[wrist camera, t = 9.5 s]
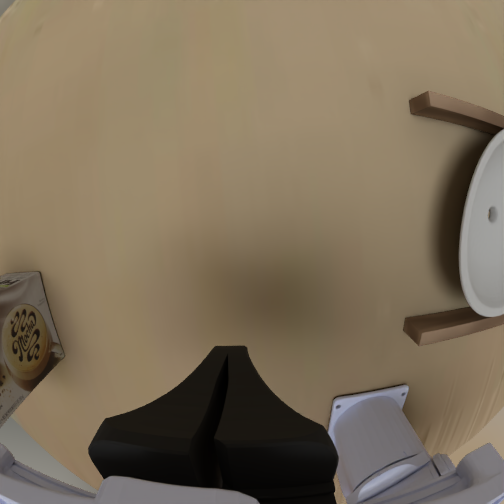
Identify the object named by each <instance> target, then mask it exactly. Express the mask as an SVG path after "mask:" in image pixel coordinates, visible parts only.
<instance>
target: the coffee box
mask: <svg viewBox="0 0 504 504" xmlns="http://www.w3.org/2000/svg"><path fill="white" fill-rule="evenodd" d="M64 356H65V355H64V353H63V350H62V347H61V344H60V342H59V339H58V336H57V333H56V330H55V327H54V324H53V321H52V317H51V314H50V311H49V307H48V304H47V300H46V297H45V293H44V289H43V285H42V281H41V277H40V273H39V272H24V273H10V274H4V275H2V276H0V428H1V426H2V425H3V424H4V423H5V422H6V421H7V419H8V418H9V417H10V416H11V415H12V413H13V412H14V411H15V410H16V409H17V408H18V407H19V405H20V404H21V403H22V402H23V401H24V400H25V399H26V397H27V396H28V395H29V394H30V393H31V392H32V391H33V389H34V388H35V387H36V386H37V385H38V384H39V383H40V382H41V381H42V380H43V379H44V378H45V377H46V375H47V374H48V373H49V372H50V371H51V370H52V369H53V368H54V367H55V366H56V365H57V364H58V363H59V362H60V361H61V360H62V359H63V358H64Z"/></svg>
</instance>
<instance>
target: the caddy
mask: <svg viewBox="0 0 504 504" xmlns="http://www.w3.org/2000/svg"><path fill="white" fill-rule="evenodd" d="M409 102H410V110H411V114H414V115H419V116H424V117H429V118H434V119H438V120H443V121H447V122H451V123H455V124H459V125H463V126H466V127H470V128H473V129H477V130H480V131H483V132H487V133H490V134H493V135H496V134H497V133H499V132H500V131H501V130H503V129H504V116H503V115H500V114H498V113H495V112H493V111H490V110H487V109H485V108H482V107H479V106H477V105H474V104H471V103H468V102H465V101H462V100H459V99H456V98H452V97H449V96H446V95H442V94H439V93H435V92H431V91H427V92H425V93H423V94H421V95H419V96H417V97H415V98H413V99H411V100H409ZM502 324H504V314H502V315H500V316H496V317H486V316H482V315H480V314H478V313H476V312H475V311H474V310H473V309H472V308H471V307H467V308H462V309H456V310H451V311H446V312H440V313H434V314H428V315H422V316H415V317H409V318H405V324H404V329H403V330H404V331H405V332H406V333H407V334H408V335H409V336H410V337H411V338H412V339H413V340H414V342H415V343H416V344H417V345H418V346H422V345H427V344H432V343H436V342H441V341H445V340H449V339H453V338H457V337H461V336H465V335H469V334H472V333H476V332H479V331H483V330H486V329H490V328H493V327H496V326H499V325H502Z"/></svg>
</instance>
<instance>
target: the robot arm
mask: <svg viewBox="0 0 504 504" xmlns="http://www.w3.org/2000/svg"><path fill="white" fill-rule="evenodd" d="M408 390H409V387H408V386H407V385H401V386H397V387H392V388H388V389H383V390H378V391H372V392H367V393H361V394H355V395H349V396H342V397H337V398H335V399H334V401H333V405H332V411H331V417H330V422H329V427H328V433H327V431H326V429H325V428H324V426H322V425H320V424H318V423H316V422H314V421H312V420H310V419H308V418H306V417H304V416H302V415H300V414H299V413H297V412H296V411H294V410H293V409H292V408H290V407H289V406H288V405H286V404H285V403H284V402H283V401H281V400H280V399H279V398H278V397H277V396H276V395H275V394H274V393H273V392H272V391H271V390H270V388H269V387H268V386H267V385H266V384H265V382H264V381H263V380H262V378H261V377H260V375H259V374H258V372H257V370H256V369H255V367H254V365H253V363H252V361H251V359H250V357H249V354H248V351H247V347H246V346H215V347H214V348H213V349H212V350H211V352H210V353H209V354H208V355H207V357H206V358H205V359H204V360H203V361H202V363H201V364H200V365H199V366H198V367H197V368H196V369H195V370H194V371H193V372H192V373H191V374H190V375H189V376H188V377H187V378H186V379H185V380H184V381H183V382H181V383H180V384H179V385H178V386H177V387H175V388H174V389H172V390H171V391H170V392H168V393H167V394H165V395H163V396H161V397H160V398H158V399H156V400H154V401H153V402H151V403H149V404H147V405H145V406H142V407H140V408H138V409H135V410H133V411H130V412H127V413H124V414H120V415H117V416H113V417H110V418H105V420H104V421H103V423H102V424H101V426H100V427H99V429H98V431H97V433H96V435H95V436H94V438H93V440H92V442H91V444H90V446H89V448H88V452H89V456H90V458H91V460H92V462H93V463H94V465H95V466H96V468H97V469H98V471H99V472H100V474H101V475H102V477H103V478H104V480H103V481H102V483H101V486H100V488H99V490H98V493H97V494H94V493H91V492H88V491H85V490H82V489H79V488H76V487H74V486H71V485H69V484H66V483H64V482H61V481H59V480H56V479H54V478H51V477H49V476H47V475H45V474H43V473H40V472H38V471H36V470H34V469H32V468H30V467H28V466H26V465H24V464H22V463H20V462H18V461H16V460H15V458H14V457H13V455H12V454H11V452H10V451H9V450H8V449H7V448H6V447H5V446H4V445H3V444H1V443H0V504H336V500H335V496H334V493H335V485H334V481H333V479H334V476H335V473H336V472H337V475H338V479H339V482H340V486H341V490H342V493H343V495H344V497H345V498H346V501H347V504H500V503H501V502H502V501H503V500H504V460H503V459H502V457H501V456H500V455H499V453H498V452H497V451H496V449H495V448H494V447H493V446H492V444H491V443H487V444H485V445H483V446H482V447H480V448H478V449H476V450H474V451H472V452H470V453H469V454H467V455H466V456H465V457H464V458H463V459H462V460H461V461H460V462H459V464H458V466H457V467H456V468H455V466H454V464H453V463H452V461H451V460H450V458H449V457H448V455H447V454H440V453H437V454H436V455H434V456H433V459H432V457H431V456H430V455H429V454H428V452H427V451H426V449H425V447H424V446H423V444H422V442H421V441H420V439H419V437H418V436H417V434H416V432H415V431H414V429H413V427H412V426H411V424H410V422H409V421H408V419H407V418H406V416H405V414H404V413H403V411H402V408H403V405H404V402H405V399H406V396H407V393H408ZM402 393H403V394H402ZM337 405H339V406H337Z"/></svg>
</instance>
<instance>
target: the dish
mask: <svg viewBox="0 0 504 504" xmlns="http://www.w3.org/2000/svg"><path fill="white" fill-rule="evenodd" d="M489 210H490V217H489V219H488V211H489ZM459 274H460V281H461V286H462V290H463V293H464V296H465V298H466V300H467V302H468V304H469V305H470V306H471V308H472V309H473V310H474V311H475V312H476V313H478V314H480V315H482V316H486V317H496V316H500V315H502V314H504V129H503V130H501V131H500V132H499V133H497V134H496V135H495V136H494V137H493V138H492V140H491V141H490V142H489V144H488V145H487V147H486V148H485V150H484V152H483V153H482V155H481V157H480V159H479V162H478V164H477V166H476V169H475V171H474V174H473V177H472V180H471V183H470V186H469V190H468V193H467V197H466V202H465V206H464V211H463V217H462V223H461V230H460V240H459Z"/></svg>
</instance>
